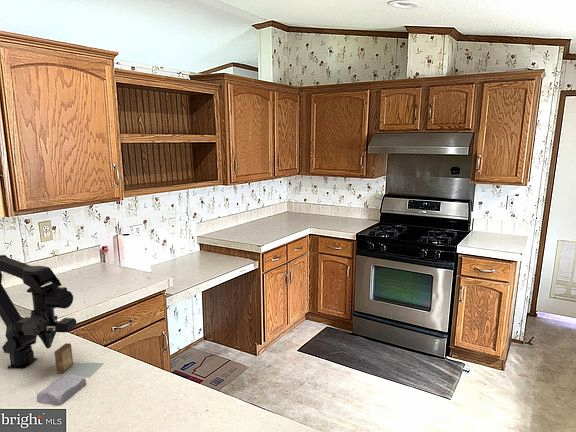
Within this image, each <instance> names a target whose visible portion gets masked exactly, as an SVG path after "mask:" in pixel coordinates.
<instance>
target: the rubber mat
mask: <svg viewBox="0 0 576 432" xmlns="http://www.w3.org/2000/svg"><path fill="white" fill-rule="evenodd" d="M104 364H105V363H104V362H77V361H76V362H74V361H73V365H72V366H71V367H70V368H69V369H68V370H67V371H66V372H65V373H63V374H57V369H56V368H55V369H54V370H52V372H50V373H49V374H48V375H47V377H58V378H60V377H63V376H68V375H76V376H81V377H84V378H91V377H93V375H94V374H95V373H97V371H98V370H99V369H100V368H101V367H102V366H103V365H104Z"/></svg>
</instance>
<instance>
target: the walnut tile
mask: <svg viewBox="0 0 576 432" xmlns="http://www.w3.org/2000/svg"><path fill="white" fill-rule="evenodd" d="M53 353H54V360H55V367H56V368H55V369H57V374H63V373H65V372H66V371H67V370H68V369H69V368H70V367H71V366H72V365H73V362H74V359H73V350H72V344H71V343H64V344H63V345H62V346H60V347H59V348H58V349H56V350H55V351H54V352H53Z"/></svg>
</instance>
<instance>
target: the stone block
mask: <svg viewBox="0 0 576 432" xmlns="http://www.w3.org/2000/svg"><path fill="white" fill-rule="evenodd" d="M86 385H87V379H86V377H81V376H76V375H68V376H63V377H58V378H56V379H55V380H53V381H52V382H50V383H49V384H48V385H47V387H45V388H43V390H41V391H39V392H38V393H36V400H37V403H40V404H42V405H54V406H62V405H64V403H66V402H67V401H68V400H69V399H70V398H72V397H73V396H75V394H77V393H78V392H79V391H81V389H83V388H84V387H85V386H86Z"/></svg>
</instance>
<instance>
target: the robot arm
mask: <svg viewBox="0 0 576 432" xmlns="http://www.w3.org/2000/svg"><path fill="white" fill-rule="evenodd" d="M2 272H3V273H6V274H7V275H11V276H14V277H16V278H19V279H20V280H22V282H23V284H24V285H26V286H27V287H29V288H28V289H27V290H26V292H27V293H30V294H31V296H32V297H31V298H32V306H33V309H32V310H31V312H30V316H28V317H27V316H25V317H22V316H21V315H20V312H19V311H18V310H17V308H16V306H15V304H14V303H13V301H12V299H11V298H10V296H9V294H8V293H7V291H6V289H5V287H4V285H3V284H2V282H3V273H2ZM61 286H62V283H61V282H60V279H59V278H58V277H57V276H56V274H55V273H54V271H53V270H52V268H51V267H49V266H44V265H29V264H27V263H24V262H22V261H19V260H16V259H13V258H10V257H8V256H7V255H5V254H0V318H1V319H2V321H3V323H4V324H5V327H6V329H5V338H6V341H5V342H4V344H3V346H2V350H3V352H4V354H7V355H8V354H9V361H10V365H8V366H7V369H20V370H21V369H22V370H23V369H26V368H27V367H29V366H30V365H31V364H33V363H34V362H35V361H37V360H38V359H37V358H36V357H35V355H34V350H33V345H35V344H36V343H37V337H39V339H40V340H41V341H42V343H43V345H44V347H45V348H46V349H50V348H51V347H52V345H53V342H54V339H55V336H56V335H57V333H64V334H65V333H68V332H70V331H71V330H72V329H74V328H75V327H77V320H76V318H75V317H63V318H62V319H61V320H58V315H55V309H56V308H57V309H68V308H69V307H71V305H72V304H73V301H74V295H73V293H72V292H71V291H69V290H68V288H67V287H66V286H63V287H61Z"/></svg>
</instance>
